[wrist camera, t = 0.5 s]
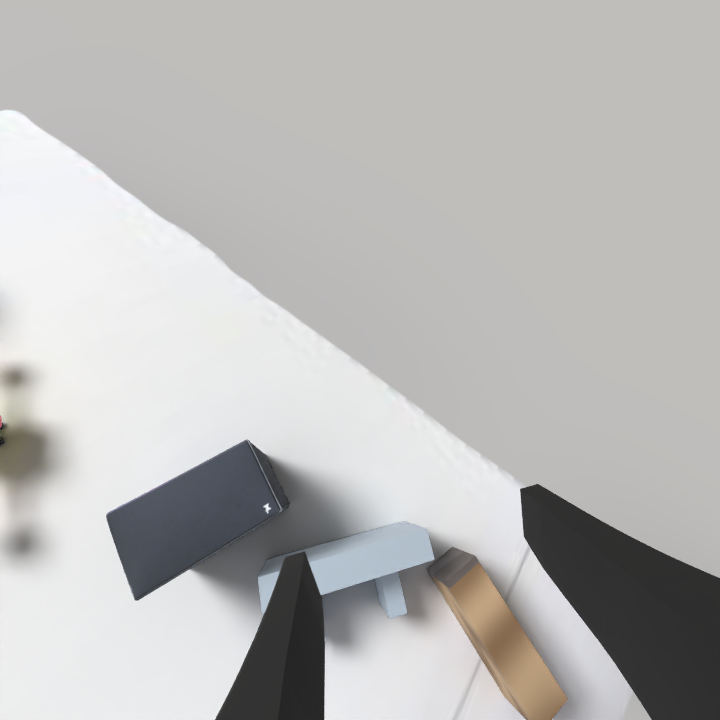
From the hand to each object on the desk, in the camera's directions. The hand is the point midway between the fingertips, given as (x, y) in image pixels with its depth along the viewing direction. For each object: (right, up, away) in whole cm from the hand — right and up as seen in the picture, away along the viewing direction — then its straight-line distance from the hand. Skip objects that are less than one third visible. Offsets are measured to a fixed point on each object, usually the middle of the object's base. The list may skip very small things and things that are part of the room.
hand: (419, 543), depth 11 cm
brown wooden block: (+10, -20, +23) cm, 32 cm away
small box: (-15, -8, +23) cm, 29 cm away
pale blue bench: (-4, -14, +22) cm, 27 cm away
